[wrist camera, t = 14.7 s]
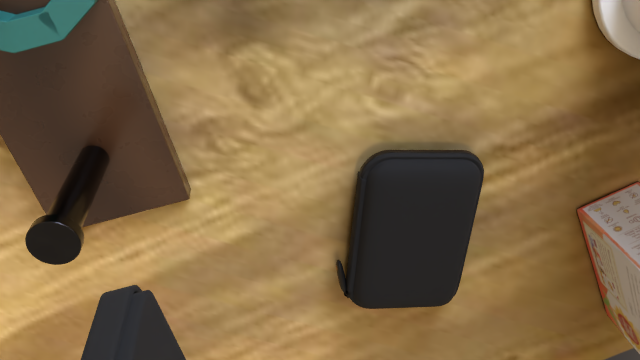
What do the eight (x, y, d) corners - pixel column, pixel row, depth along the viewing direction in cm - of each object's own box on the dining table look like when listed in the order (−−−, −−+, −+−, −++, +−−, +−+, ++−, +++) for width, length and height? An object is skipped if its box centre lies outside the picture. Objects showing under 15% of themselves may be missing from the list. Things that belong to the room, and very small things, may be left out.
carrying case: (344, 141, 43) (329, 295, 50) (351, 160, 40) (335, 320, 47) (480, 142, 44) (448, 292, 51) (495, 160, 42) (459, 315, 49)
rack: (42, -179, 31) (-52, -196, 21) (191, 189, 43) (176, 289, 33) (-136, -131, 31) (-313, -126, 21) (62, 222, 43) (9, 333, 33)
